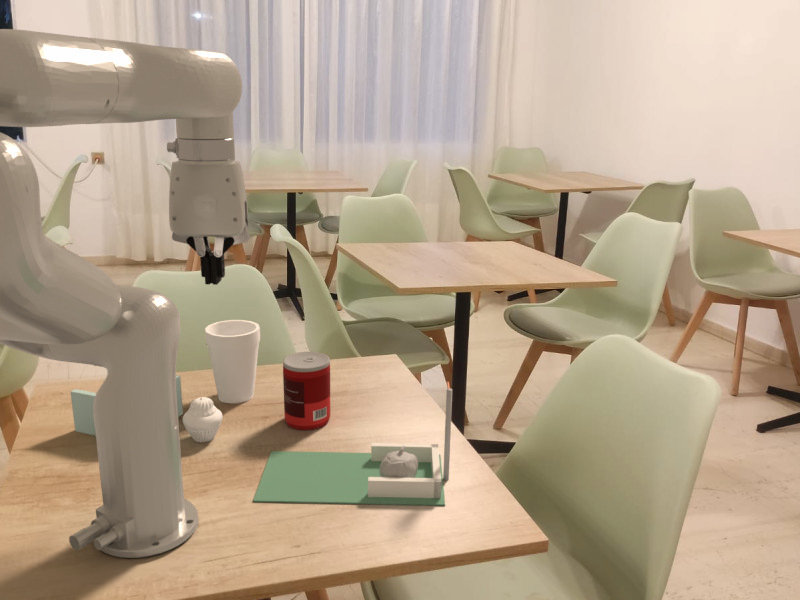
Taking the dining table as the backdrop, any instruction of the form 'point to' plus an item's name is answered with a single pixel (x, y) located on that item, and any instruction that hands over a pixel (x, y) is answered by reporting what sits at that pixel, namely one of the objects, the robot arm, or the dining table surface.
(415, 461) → the garlic
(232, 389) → the foam cup
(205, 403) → the muffin
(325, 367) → the canned food
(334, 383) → the dining table surface
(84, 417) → the right angle wall
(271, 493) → the felt mat
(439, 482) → the white u-shaped frame
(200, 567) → the dining table surface
